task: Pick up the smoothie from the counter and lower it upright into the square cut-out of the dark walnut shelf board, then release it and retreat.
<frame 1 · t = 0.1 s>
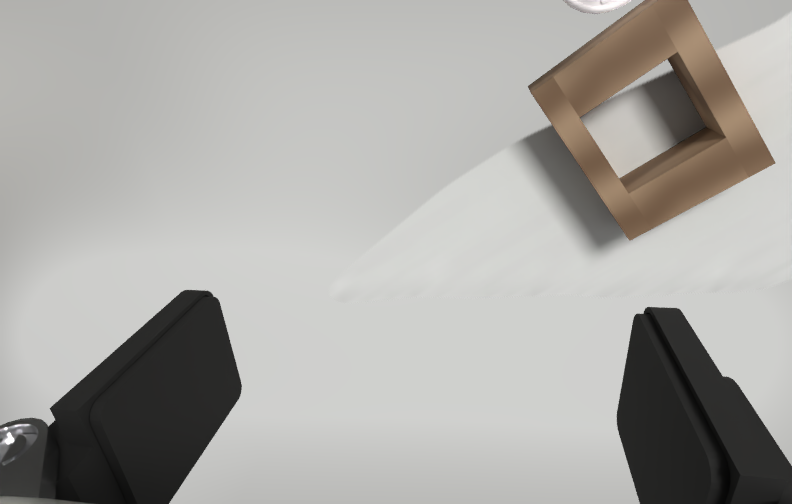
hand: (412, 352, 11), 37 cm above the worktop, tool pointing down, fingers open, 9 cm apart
cutout board: (638, 117, 42), on the worktop
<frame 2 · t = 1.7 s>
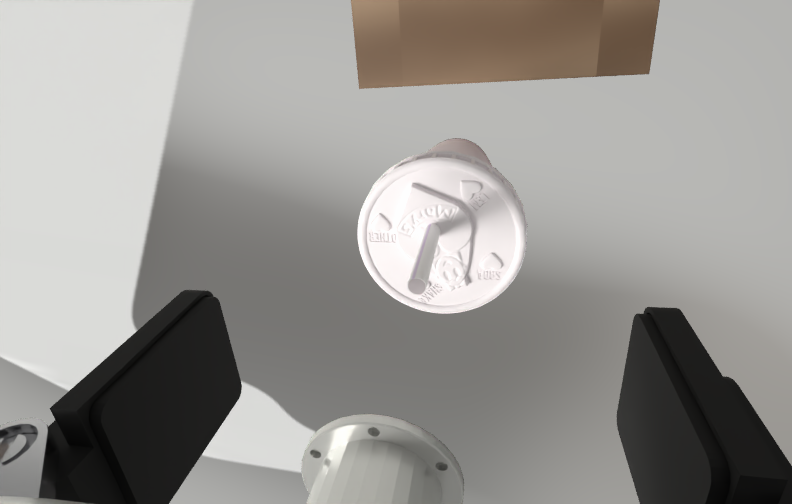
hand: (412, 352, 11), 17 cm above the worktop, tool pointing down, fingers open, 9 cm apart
smoothie: (456, 171, 26), on the worktop
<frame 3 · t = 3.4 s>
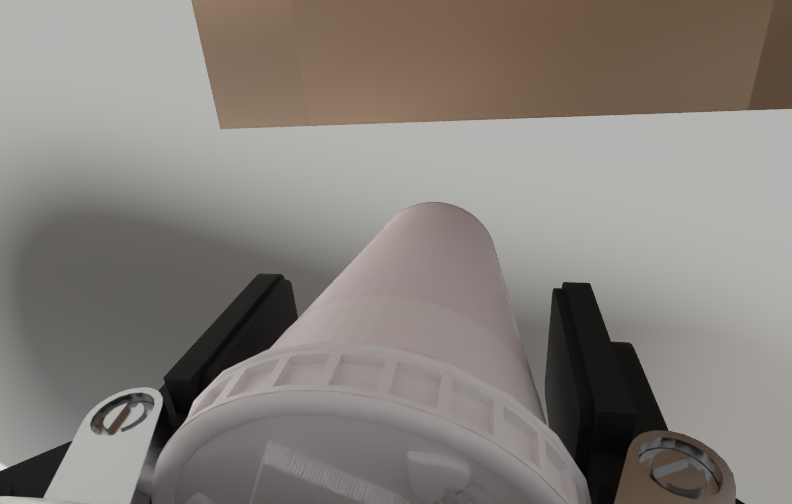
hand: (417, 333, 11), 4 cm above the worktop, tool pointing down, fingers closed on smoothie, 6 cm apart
smoothie: (436, 254, 15), on the worktop, touching gripper
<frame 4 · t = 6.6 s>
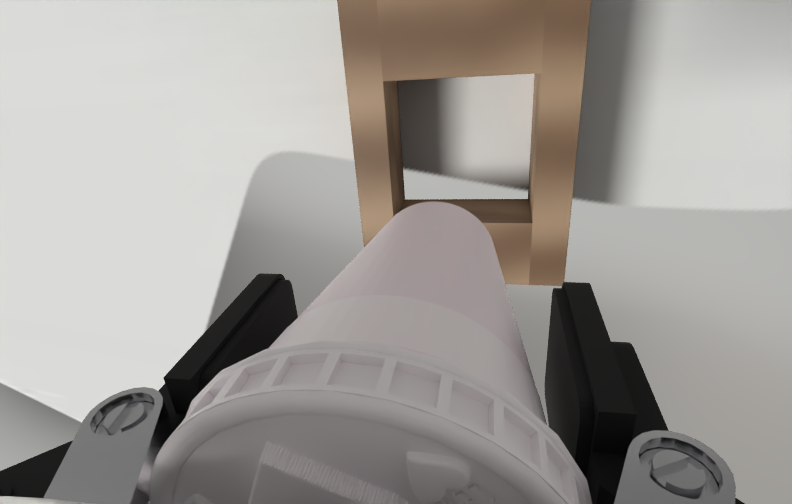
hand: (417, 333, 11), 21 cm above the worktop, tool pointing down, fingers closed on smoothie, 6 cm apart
smoothie: (436, 254, 15), point 16 cm above the worktop, touching gripper
cutout board: (464, 138, 29), on the worktop
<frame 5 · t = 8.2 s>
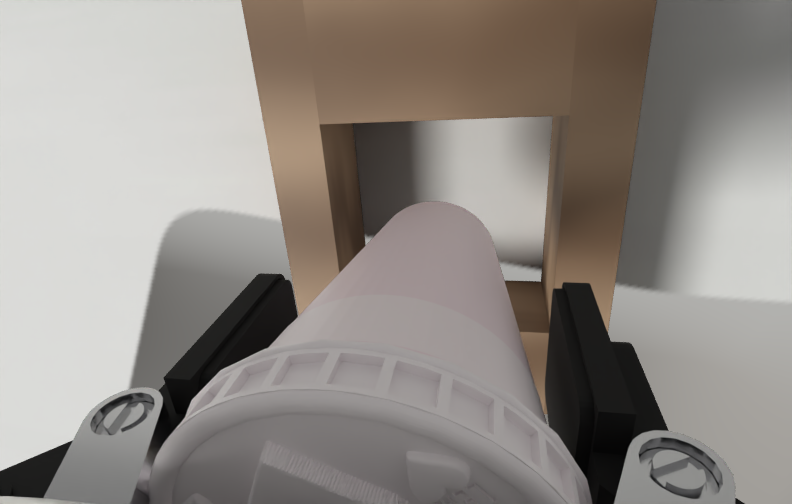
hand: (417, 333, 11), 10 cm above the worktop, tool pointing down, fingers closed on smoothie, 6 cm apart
smoothie: (436, 253, 15), point 6 cm above the worktop, touching gripper
cutout board: (450, 197, 20), on the worktop
when the fingers open (5 cm above the worktop, at t = 9.7 s): smoothie drops 1 cm, resting in cutout board.
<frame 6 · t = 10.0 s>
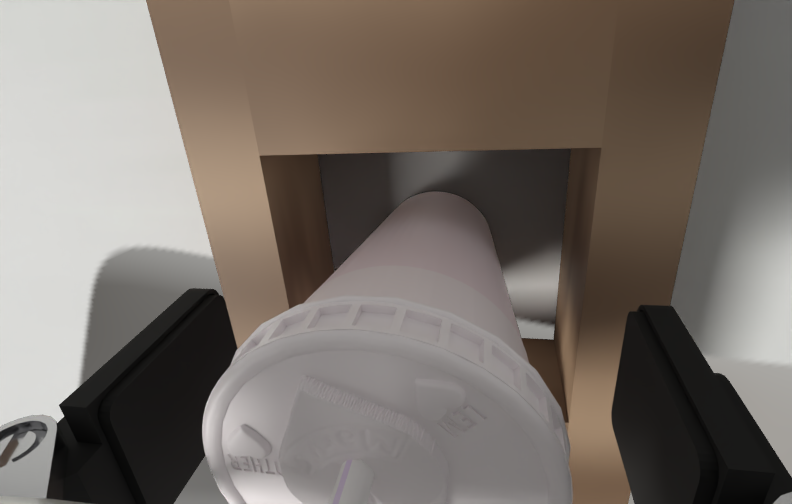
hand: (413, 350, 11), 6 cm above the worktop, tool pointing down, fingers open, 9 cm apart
smoothie: (437, 240, 17), resting in cutout board
cutout board: (440, 237, 16), on the worktop
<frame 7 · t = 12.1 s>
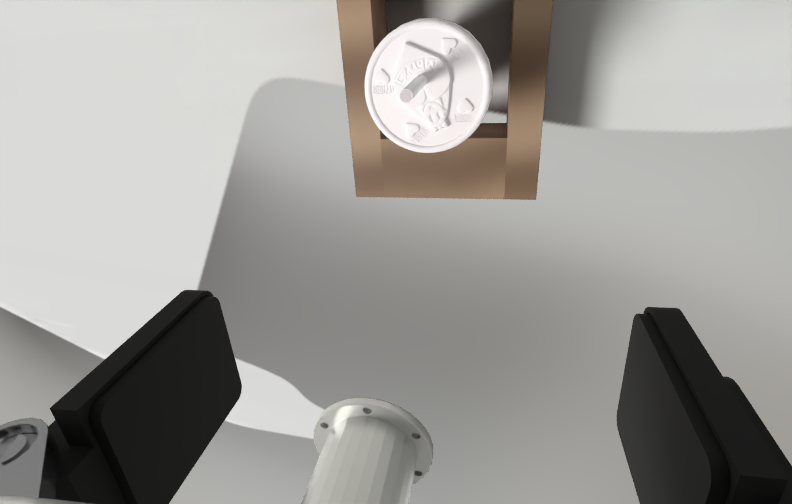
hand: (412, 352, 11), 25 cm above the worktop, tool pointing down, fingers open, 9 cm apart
smoothie: (446, 65, 32), resting in cutout board
cutout board: (447, 63, 32), on the worktop
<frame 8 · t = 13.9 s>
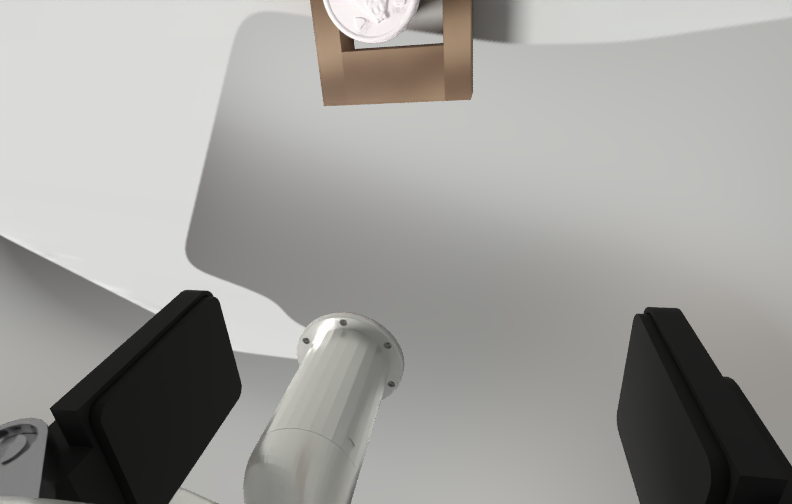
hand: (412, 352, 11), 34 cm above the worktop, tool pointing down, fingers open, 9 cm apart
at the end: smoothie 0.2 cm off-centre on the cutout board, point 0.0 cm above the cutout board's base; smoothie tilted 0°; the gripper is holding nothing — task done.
